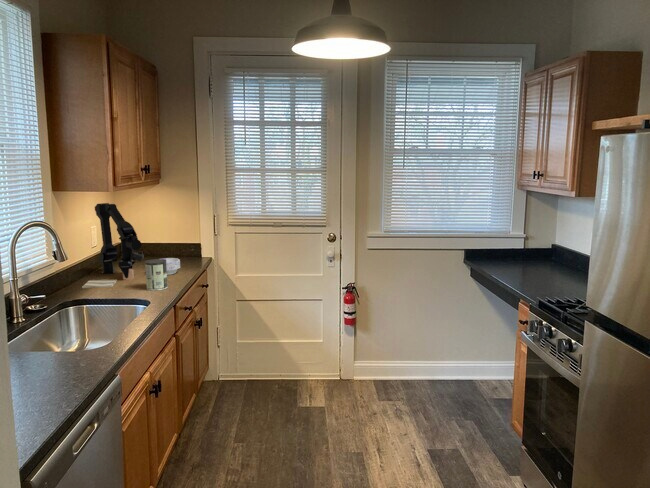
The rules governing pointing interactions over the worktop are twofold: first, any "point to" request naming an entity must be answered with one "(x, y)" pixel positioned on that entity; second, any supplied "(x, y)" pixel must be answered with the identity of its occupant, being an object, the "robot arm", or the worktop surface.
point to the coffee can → (156, 274)
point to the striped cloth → (99, 283)
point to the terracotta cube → (131, 274)
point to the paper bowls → (172, 265)
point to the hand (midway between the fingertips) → (128, 276)
